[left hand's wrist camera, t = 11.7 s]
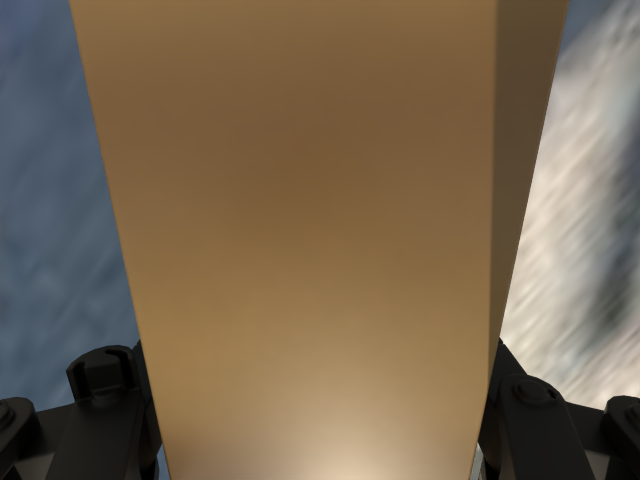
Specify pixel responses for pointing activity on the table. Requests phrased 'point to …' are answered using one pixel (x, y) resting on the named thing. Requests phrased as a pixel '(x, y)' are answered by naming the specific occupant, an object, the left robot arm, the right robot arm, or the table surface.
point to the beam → (319, 219)
